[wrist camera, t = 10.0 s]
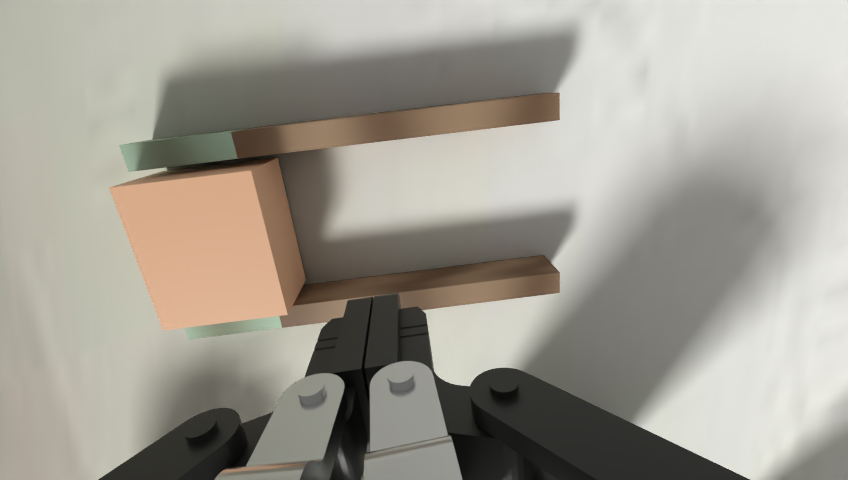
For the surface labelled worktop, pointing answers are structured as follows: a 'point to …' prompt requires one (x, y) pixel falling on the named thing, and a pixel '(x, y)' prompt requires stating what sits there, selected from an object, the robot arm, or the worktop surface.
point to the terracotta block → (213, 242)
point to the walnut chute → (412, 286)
